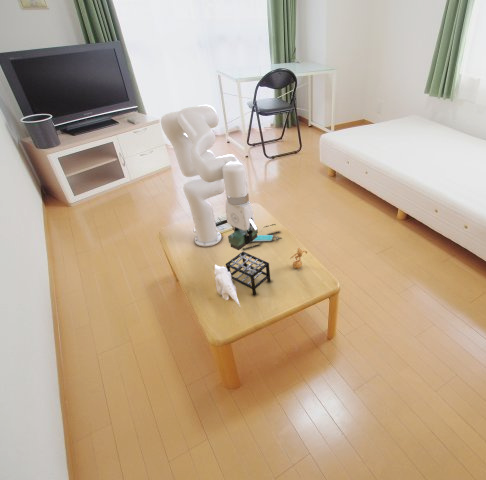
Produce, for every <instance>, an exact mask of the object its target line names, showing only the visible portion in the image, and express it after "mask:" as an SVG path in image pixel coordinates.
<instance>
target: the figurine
mask: <svg viewBox="0 0 486 480" xmlns="http://www.w3.org/2000/svg"><path fill="white" fill-rule="evenodd" d="M303 253H305V254H308V251H307V250H303V249H301V247H297V251H296V252H295V253H294V254H293V255H292V256H290V258H289V260H292V258H295V260H293V262H292V267H293V268H294V269H295V270H297V269H298V270H299V269H301V267H302V265H303V263H302V261H301V257H303Z"/></svg>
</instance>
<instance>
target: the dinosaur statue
mask: <svg viewBox="0 0 486 480" xmlns="http://www.w3.org/2000/svg"><path fill="white" fill-rule="evenodd" d="M231 273H232V271H231V272H228V269H227V268H226V266H224V265H222V266H220V265H217V264H214V272H213V274H214V276H215V277H214V282H215V285H216V286H215V289H216V292H217V293H218V294H219V295H220V296H221V297H222V299H223V300H225V301H228V300H229V299H230V297H231V299H233V301H234V302H235V303H236V304H237V305H238V306H239V307H241V304H240V301H239V298H238V295H237V294H238V291H237V288H236V285H235V284H234V280H233V279H232V278H231Z"/></svg>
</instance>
